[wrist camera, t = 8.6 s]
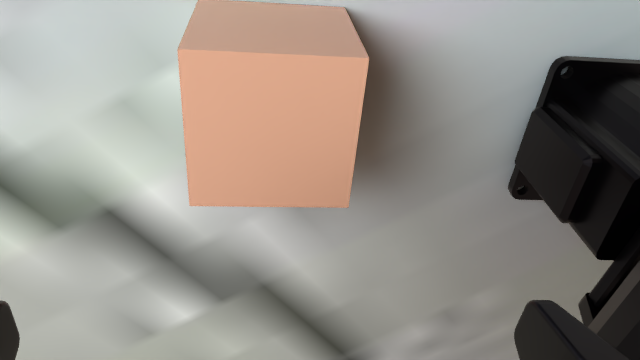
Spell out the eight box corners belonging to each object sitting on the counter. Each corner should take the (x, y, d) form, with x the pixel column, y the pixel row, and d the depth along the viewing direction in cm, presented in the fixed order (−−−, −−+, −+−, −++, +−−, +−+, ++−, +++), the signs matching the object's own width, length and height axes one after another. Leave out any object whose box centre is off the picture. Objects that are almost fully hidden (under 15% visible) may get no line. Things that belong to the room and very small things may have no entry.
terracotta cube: (344, 7, 18) (369, 58, 13) (331, 133, 20) (348, 207, 16) (198, -2, 17) (177, 49, 13) (205, 129, 20) (189, 205, 16)
